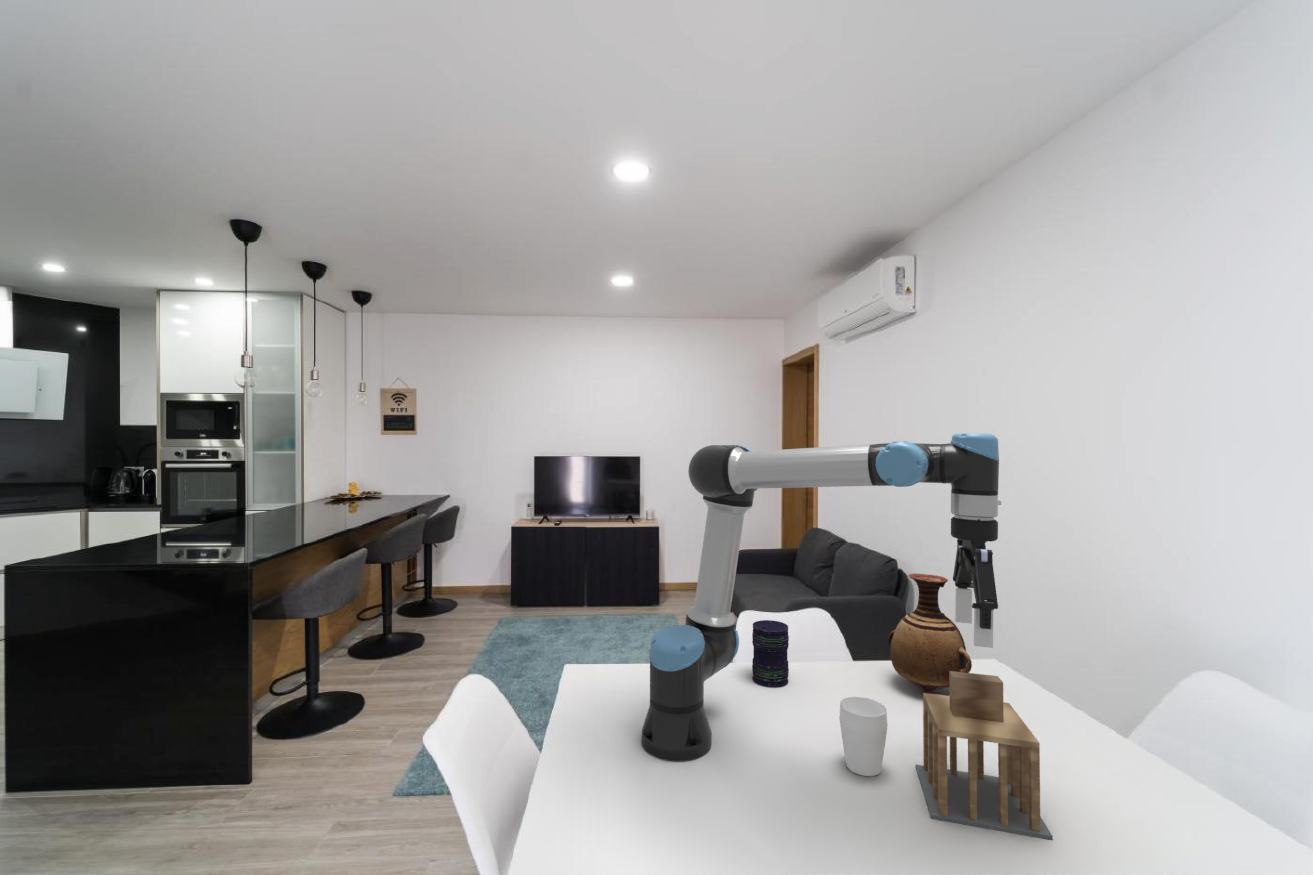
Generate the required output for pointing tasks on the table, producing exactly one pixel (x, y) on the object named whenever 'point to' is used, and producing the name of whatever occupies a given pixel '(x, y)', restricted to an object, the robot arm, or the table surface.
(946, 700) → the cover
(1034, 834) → the mat
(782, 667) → the dark blue cylinder
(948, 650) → the vase
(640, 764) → the table surface
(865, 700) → the cup
